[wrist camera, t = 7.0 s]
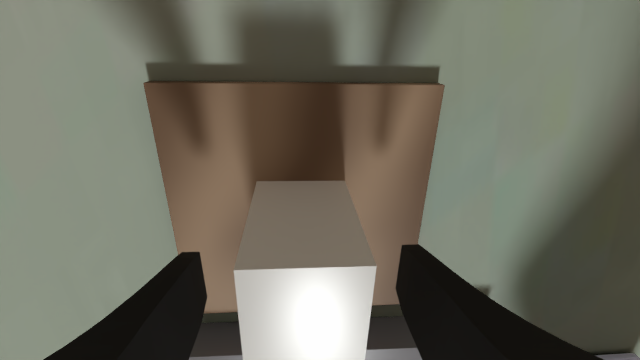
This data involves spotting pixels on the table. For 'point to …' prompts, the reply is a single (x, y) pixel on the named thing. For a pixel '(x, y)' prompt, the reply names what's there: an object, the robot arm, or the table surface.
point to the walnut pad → (292, 162)
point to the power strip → (381, 352)
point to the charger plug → (304, 274)
